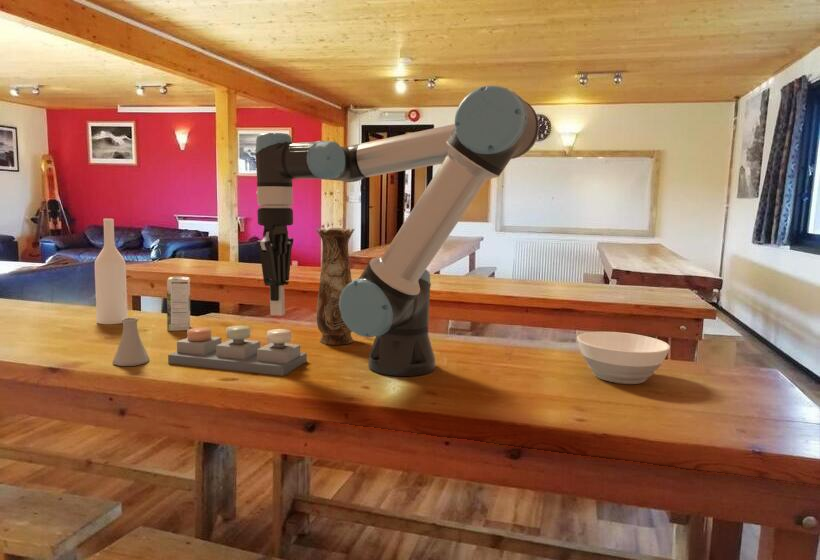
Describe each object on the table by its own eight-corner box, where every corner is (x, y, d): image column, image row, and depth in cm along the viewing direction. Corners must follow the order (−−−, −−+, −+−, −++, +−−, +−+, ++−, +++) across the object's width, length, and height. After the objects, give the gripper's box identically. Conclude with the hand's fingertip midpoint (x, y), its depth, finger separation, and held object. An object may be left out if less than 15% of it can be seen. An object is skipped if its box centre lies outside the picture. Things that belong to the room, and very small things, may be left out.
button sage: (254, 344, 136) (254, 326, 135) (243, 349, 131) (242, 331, 130) (234, 342, 137) (234, 324, 137) (222, 347, 132) (221, 329, 132)
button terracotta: (215, 346, 138) (215, 328, 138) (203, 351, 133) (202, 333, 133) (196, 344, 140) (196, 326, 139) (182, 349, 135) (182, 331, 134)
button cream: (294, 348, 134) (294, 330, 133) (284, 354, 128) (284, 335, 128) (273, 346, 135) (273, 328, 134) (262, 351, 130) (262, 333, 129)
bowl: (672, 374, 135) (675, 339, 134) (659, 397, 119) (663, 357, 118) (586, 360, 145) (588, 327, 144) (564, 380, 129) (566, 343, 127)
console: (306, 361, 137) (306, 342, 136) (283, 375, 125) (283, 355, 125) (199, 350, 144) (199, 332, 143) (168, 363, 132) (167, 343, 131)
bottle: (123, 318, 178) (120, 218, 174) (131, 322, 172) (127, 219, 168) (93, 320, 173) (89, 218, 169) (100, 325, 167) (96, 219, 163)
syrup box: (168, 327, 168) (167, 276, 166) (191, 326, 170) (190, 276, 168) (167, 331, 163) (165, 279, 161) (190, 330, 165) (188, 279, 163)
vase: (339, 348, 150) (340, 229, 146) (307, 341, 156) (307, 227, 152) (363, 340, 159) (365, 228, 155) (332, 334, 165) (333, 226, 161)
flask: (135, 368, 128) (133, 323, 126) (105, 365, 129) (103, 320, 128) (155, 359, 135) (154, 316, 133) (127, 357, 136) (126, 314, 135)
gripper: (273, 207, 135) (275, 309, 138) (244, 207, 122) (247, 319, 125) (303, 207, 133) (305, 310, 136) (277, 207, 120) (280, 321, 123)
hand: (277, 314), depth 130 cm, fingers closed
